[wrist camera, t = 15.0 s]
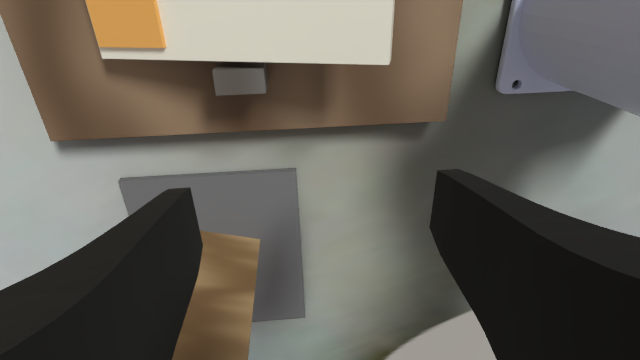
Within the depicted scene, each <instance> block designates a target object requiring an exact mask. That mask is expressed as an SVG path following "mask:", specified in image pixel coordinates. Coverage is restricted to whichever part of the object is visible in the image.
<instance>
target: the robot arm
mask: <svg viewBox="0 0 640 360" xmlns="http://www.w3.org/2000/svg"><path fill="white" fill-rule="evenodd" d="M515 80H518V83H517V85H516V86H515V87H513V88H512V84H513V82H514V81H515ZM496 90H497V91H498V92H500V93H502V94H520V93H541V92H562V91H576V92H579V93H581V94H584V95H587V96H589V97H592V98H594V99H597V100H599V101H602V102H604V103H607V104H609V105H612V106H615V107H617V108H620V109H622V110H625V111H627V112H630V113H632V114H635V115H638V116H640V0H512V3H511V8H510V13H509V18H508V23H507V29H506V34H505V39H504V44H503V49H502V54H501V59H500V64H499V69H498V74H497V79H496ZM430 230H431V232H432V235H433V238H434V240H435V243H436V245H437V248H438V250H439V252H440V255H441V257H442V258H443V260H444V262H445V264H446V265H447V267H448V269H449V271H450V272H451V274H452V276H453V278H454V279H455V281H456V283H457V284H458V286H459V288H460V290H461V291H462V293H463V295H464V296H465V298H466V300H467V302H468V303H469V305H470V307H471V308H472V310H473V312H474V313H475V315H476V317H477V319H478V321H479V322H480V324H481V326H482V328H483V330H484V332H485V334H486V337H487V339H488V341H489V343H490V345H491V347H492V350H493V352H494V354H495V357H496V359H497V360H640V237H636V236H632V235H628V234H624V233H621V232H617V231H614V230H610V229H607V228H604V227H600V226H597V225H594V224H591V223H588V222H585V221H582V220H579V219H576V218H573V217H570V216H568V215H565V214H562V213H559V212H557V211H554V210H552V209H549V208H547V207H544V206H542V205H539V204H537V203H535V202H532V201H530V200H528V199H525V198H523V197H521V196H518V195H516V194H514V193H512V192H510V191H507V190H505V189H503V188H501V187H499V186H497V185H494V184H492V183H490V182H488V181H486V180H483V179H481V178H479V177H477V176H474V175H472V174H470V173H467V172H464V171H462V170H458V169H453V170H439V171H437V177H436V184H435V192H434V199H433V207H432V214H431V222H430ZM202 249H203V242H202V238H201V233H200V229H199V224H198V220H197V215H196V211H195V206H194V202H193V197H192V193H191V188H190V187H188V188H173V189H167V190H166V191H164V192H162V193H161V194H159V195H158V196H156V197H155V198H153V199H152V200H151V201H149V202H148V203H146V204H145V205H144V206H142V207H141V208H140V209H138V210H137V211H136V212H134V213H133V214H131V215H130V216H129V217H127V218H126V219H124V220H123V221H122V222H120V223H119V224H117V225H116V226H114V227H113V228H111V229H110V230H108V231H107V232H105V233H104V234H102V235H101V236H99V237H98V238H96V239H95V240H93V241H92V242H90V243H89V244H87V245H86V246H84V247H83V248H81V249H79V250H78V251H76V252H74V253H73V254H71V255H69V256H67V257H66V258H64V259H62V260H60V261H58V262H57V263H55V264H53V265H51V266H49V267H48V268H46V269H44V270H42V271H40V272H38V273H36V274H34V275H32V276H30V277H28V278H26V279H24V280H22V281H19V282H17V283H15V284H13V285H11V286H9V287H7V288H5V289H3V290H1V291H0V360H172V358H173V354H174V351H175V347H176V343H177V340H178V337H179V334H180V331H181V328H182V325H183V322H184V319H185V315H186V312H187V309H188V306H189V303H190V300H191V297H192V294H193V290H194V287H195V284H196V281H197V277H198V273H199V268H200V262H201V256H202Z"/></svg>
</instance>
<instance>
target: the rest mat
mask: <svg viewBox="0 0 640 360" xmlns="http://www.w3.org/2000/svg"><path fill="white" fill-rule="evenodd" d="M118 182H119V185H120V188H121V192H122V195H123V198H124V201H125V204H126V207H127V210H128V213H129V216H130V215H131V214H133V213H134V212H136V211H137V210H138V209H140V208H141V207H142V206H144V205H145V204H146V203H148V202H149V201H151V200H152V199H153V198H155V197H156V196H158V195H159V194H161V193H162V192H164V191H166V190H167V189H173V188H188V187H190V188H191V193H192V197H193V202H194V206H195V211H196V215H197V220H198V224H199V229H200V231H207V232H214V233H221V234H227V235H234V236H241V237H248V238H255V239H260V247H259V256H258V266H257V276H256V285H255V295H254V304H253V314H252V322H255V321H268V320H281V319H294V318H305V304H304V288H303V272H302V256H301V240H300V224H299V208H298V191H297V175H296V168H288V169H271V170H253V171H235V172H218V173H200V174H183V175H165V176H147V177H130V178H121V179H120V180H119V181H118Z"/></svg>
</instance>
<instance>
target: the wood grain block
mask: <svg viewBox="0 0 640 360" xmlns="http://www.w3.org/2000/svg"><path fill="white" fill-rule="evenodd" d="M200 233H201V238H202V242H203V249H202V256H201V262H200V268H199V273H198V277H197V281H196V284H195V287H194V290H193V294H192V297H191V300H190V303H189V306H188V309H187V312H186V315H185V319H184V322H183V325H182V328H181V331H180V334H179V337H178V340H177V343H176V347H175V351H174V354H173V358H172V360H248V352H249V343H250V333H251V324H252V314H253V304H254V295H255V285H256V276H257V266H258V256H259V247H260V239H255V238H248V237H241V236H234V235H227V234H221V233H214V232H207V231H200Z"/></svg>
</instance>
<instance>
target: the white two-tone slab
mask: <svg viewBox="0 0 640 360" xmlns="http://www.w3.org/2000/svg"><path fill="white" fill-rule="evenodd" d="M85 1H86V5H87V8H88V12H89V15H90V18H91V22H92V25H93V29H94V32H95V36H96V39H97V42H98V46H99V49H100V53H101V56H102V59H141V60H186V61H230V62H275V63H320V64H364V65H389V64H390V61H391V53H392V37H393V21H394V5H395V0H85Z"/></svg>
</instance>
